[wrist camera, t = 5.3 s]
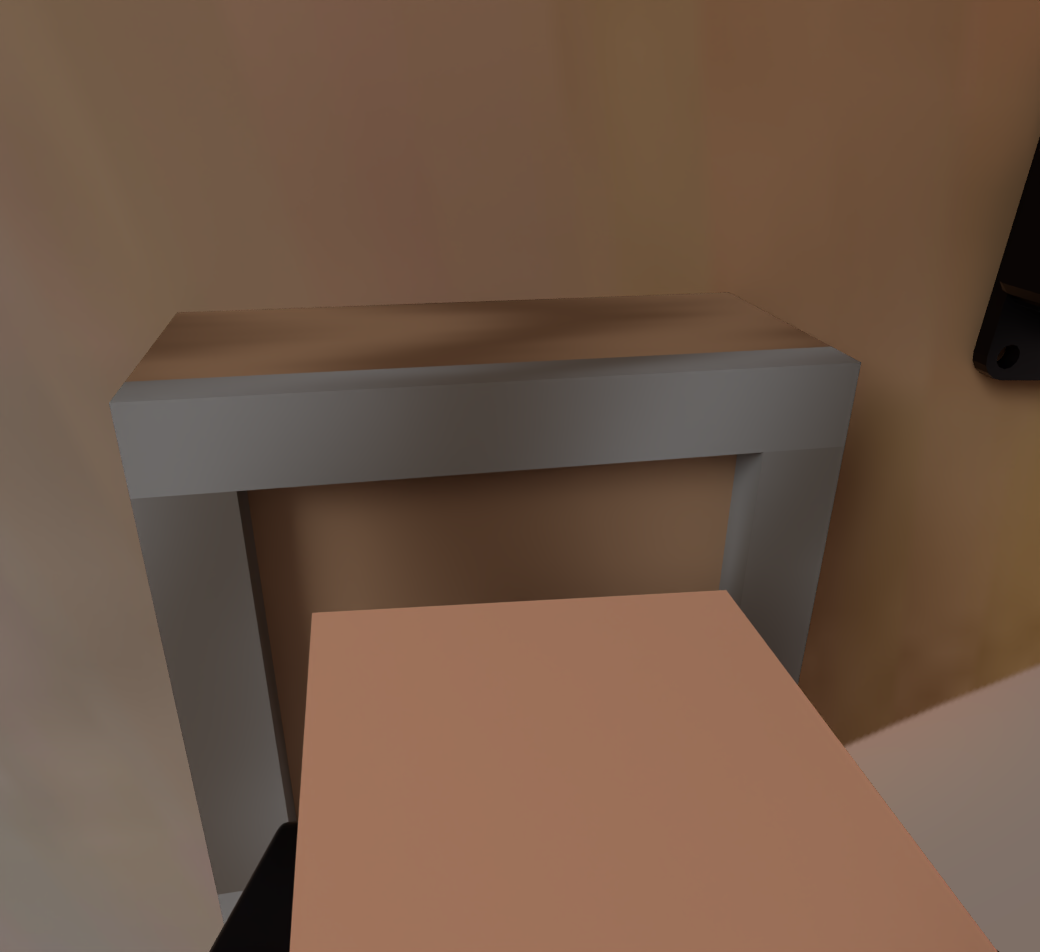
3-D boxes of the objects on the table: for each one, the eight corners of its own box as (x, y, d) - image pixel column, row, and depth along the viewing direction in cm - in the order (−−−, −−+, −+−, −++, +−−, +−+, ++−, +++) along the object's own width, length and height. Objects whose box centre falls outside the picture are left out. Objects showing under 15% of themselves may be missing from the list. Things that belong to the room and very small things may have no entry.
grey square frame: (722, 288, 16) (860, 362, 12) (675, 693, 20) (764, 856, 16) (180, 307, 14) (109, 403, 10) (256, 747, 18) (228, 946, 14)
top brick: (725, 590, 10) (1020, 983, 6) (669, 871, 12) (852, 1316, 8) (311, 612, 9) (278, 1110, 5) (327, 914, 11) (316, 1452, 7)
